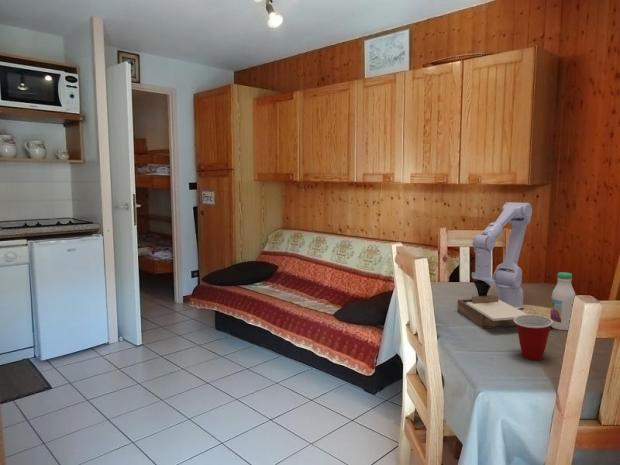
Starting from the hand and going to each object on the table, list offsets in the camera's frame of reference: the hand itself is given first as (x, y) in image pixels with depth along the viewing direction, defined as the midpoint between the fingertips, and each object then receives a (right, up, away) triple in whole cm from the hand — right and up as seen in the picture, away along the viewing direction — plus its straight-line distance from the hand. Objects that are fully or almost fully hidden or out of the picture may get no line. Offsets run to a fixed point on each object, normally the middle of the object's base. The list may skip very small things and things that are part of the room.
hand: (482, 299), depth 176 cm
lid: (+1, -3, -10) cm, 11 cm away
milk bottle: (+23, -8, -14) cm, 29 cm away
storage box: (+1, -7, -2) cm, 7 cm away
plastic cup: (0, -12, -38) cm, 40 cm away
